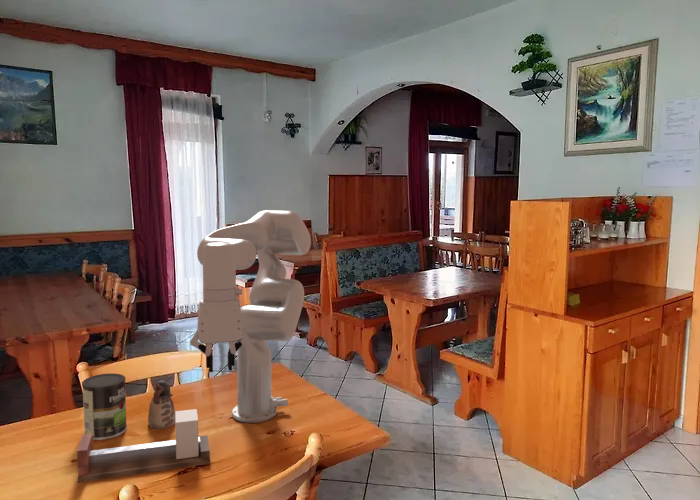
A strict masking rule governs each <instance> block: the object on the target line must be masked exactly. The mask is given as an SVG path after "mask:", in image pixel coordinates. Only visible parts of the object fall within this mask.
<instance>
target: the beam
mask: <svg viewBox="0 0 700 500" xmlns="http://www.w3.org/2000/svg"><path fill="white" fill-rule="evenodd" d="M198 450H199V453H200V437H199V436H198ZM89 457H90V468H96V467H103V466H111V465H118V464H125V463H133V462H140V461H147V460H155V459H162V458H169V457H176V439H172V440H171V439H170V440H164V441H155V442H150V443H149V442H148V443H147V442H146V443H142V444H141V443H140V444H134V445H133V444H132V445H125V446H118V447H110V448H109V447H108V448H101V449H100V448H99V449H93V450H92V451H91V452H90V456H89Z"/></svg>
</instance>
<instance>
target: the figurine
mask: <svg viewBox="0 0 700 500" xmlns="http://www.w3.org/2000/svg"><path fill="white" fill-rule="evenodd" d="M154 388H155V390H154V392H153V397H152V398H151V399H150V402H149V408H148V416H147V421H148V426H149V427H151V428H152V429H160V430H161V429H167V428H170V427H172V426H174V425H176V422H175V411H176V410H175V405H174V401H173V399H172V398H171V397H173V396H174V395H173V393H171V384H170V383H168V382H166V381H165V380H159V381H157V382H156V383H155V384H154Z"/></svg>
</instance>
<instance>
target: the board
mask: <svg viewBox="0 0 700 500" xmlns="http://www.w3.org/2000/svg"><path fill="white" fill-rule="evenodd" d="M198 437H200V453H199V456H197V457H189V458H182V459H176V457H169V458H162V459H155V460H147V461H140V462H133V463H125V464H118V465H111V466H103V467H96V468H90V457H89V456H90V452H91V451H92V450H94V444H93V443H94V442H93V441H94V440H92V434H85V433H84V434H82V435H81V439H80V441H79V444H78V447H77V450H76V461H77V463H76V464H77V483H83V482H84V483H85V482H92V481H98V480H105V479H112V478H119V477H126V476H132V475H133V476H134V475H140V474H141V475H142V474H146V473H154V472H161V471H168V470H169V471H170V470H174V469H182V468H189V467H197V466H202V465H211V456H210V455H211V452H210V451H211V450H210V444H209V437H208V434H207V435H198Z"/></svg>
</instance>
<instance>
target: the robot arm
mask: <svg viewBox="0 0 700 500" xmlns="http://www.w3.org/2000/svg"><path fill="white" fill-rule="evenodd" d="M311 245H312V239H311V234H310V232H309V229H308V228H307V226H306V224H305V222H304V221H303V219H302V217H301V216H300V215H299V214H298V212H295V211H293V210H278V209H277V210H276V209H275V210H274V209H271V210H270V209H265V210H261V211H258V212H257V213H255V214H254V215H253V216H251V217H250V218H249V219H248V220H246V221H245V222H241V223H238V224H237V223H236V224H234V225H230V226H226V227H223V228H219V229H216V230H214V231H212V232H210V233H209V234H207V235H206V236H205V237H203V239H202V240H201V241H200V242H199V245H198V246H197V252H196V255H197V256H196V257H197V259H198V262H199V263H200V264H201V266H202V298H203V299H200V300H199V305H198V311H197V312H198V313H197V330H196V331H195V333H194V334H193V336H192V338H191V339H190V341H189V344H190V346H193V347H194V348H196V349H198V350H199V351H200V352H201V353H202V354H204V355H205V366H206V367H205V368H206V369H209V373H213V372H214V356H213V353H212V347H213V344H223V343H228V348H229V349H228V351H227V369H228V371H229V372H230V371H233V367H234V366H235V365H236V366H237V369H236V371H237V373H236V374H237V376H236V378H237V379H236V381H237V404H236V406H235V407H233V408H232V411H231V417H232V418H234V419H235V420H236V421H238V422H243V423H248V424H249V423H251V424H252V423H261V422H262V423H263V422H265V421H269V420H270V419H273V418H274V417H275V416H276V415H277V413H278V411H277V409H278V408H277V407H286V406H288V405H289V404H288V403H289V401H288V398H283V399H282V396H277V397H274V396H273V395H272V352H271V349H270V347H269V345H268V343H267V342H266V341H270V342H287V341H290V340H291V339H293V338H294V335H295V333H296V330H297V327H298V323H299V319H300V317H301V312H302V309H303V307H304V301H305V289H304V288H305V287H304V286H303V284H302V283H301V282H300V281H299V280H297V279H292V278H286V277H287V269H286V267H285V265H284V264H283V261H281V260H280V258H279V257H277V255H282V256H283V255H284V256H285V255H286V256H304V255H306V254H307V253H308V252H309V251H310V249H311ZM256 259H257V260H258V271H257V273H256V276H255V279H254V281H253V284H252V285H251V289H250V293H249V296H248V298H249V304H248V305H244V306H241V303H240V300H239V298H237V297H238V296H239V295H243V289H242V288H238V287H237V285H236V284H237V283H236V281H237V280H236V279H237V277H236V276H237V275H236V274H237V272H236V271H237V270H240V271H241V270H247V269H249V268H250V267H252V266H253V265H254V263H255V262H256ZM204 344H205V345H204ZM236 354H237V355H236ZM235 355H236V356H237V357H236V356H235ZM235 357H236V360H237V361H236V362H237V363H236V364H235Z"/></svg>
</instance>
